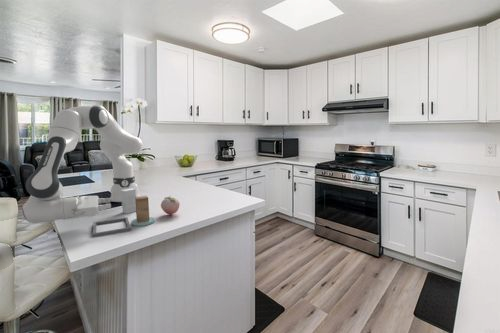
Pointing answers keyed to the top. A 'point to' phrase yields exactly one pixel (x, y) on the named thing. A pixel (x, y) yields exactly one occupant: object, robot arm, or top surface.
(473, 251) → the top surface
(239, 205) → the top surface
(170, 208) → the decorative fruit
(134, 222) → the teal round disc
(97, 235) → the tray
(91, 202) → the robot arm
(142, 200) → the walnut block
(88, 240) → the top surface
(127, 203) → the skincare box
